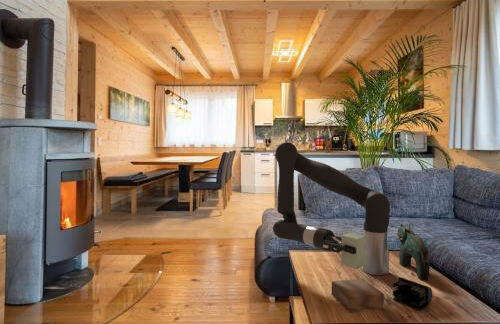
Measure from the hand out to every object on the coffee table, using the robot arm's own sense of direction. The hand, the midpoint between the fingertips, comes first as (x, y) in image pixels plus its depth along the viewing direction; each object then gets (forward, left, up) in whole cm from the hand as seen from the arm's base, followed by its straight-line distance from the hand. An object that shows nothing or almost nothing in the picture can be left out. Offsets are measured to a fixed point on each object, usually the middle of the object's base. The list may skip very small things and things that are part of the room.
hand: (360, 248), depth 102 cm
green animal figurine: (-33, -24, -18) cm, 45 cm away
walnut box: (+1, -1, -18) cm, 18 cm away
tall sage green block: (+2, -2, -6) cm, 7 cm away
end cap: (-17, +1, -18) cm, 25 cm away
